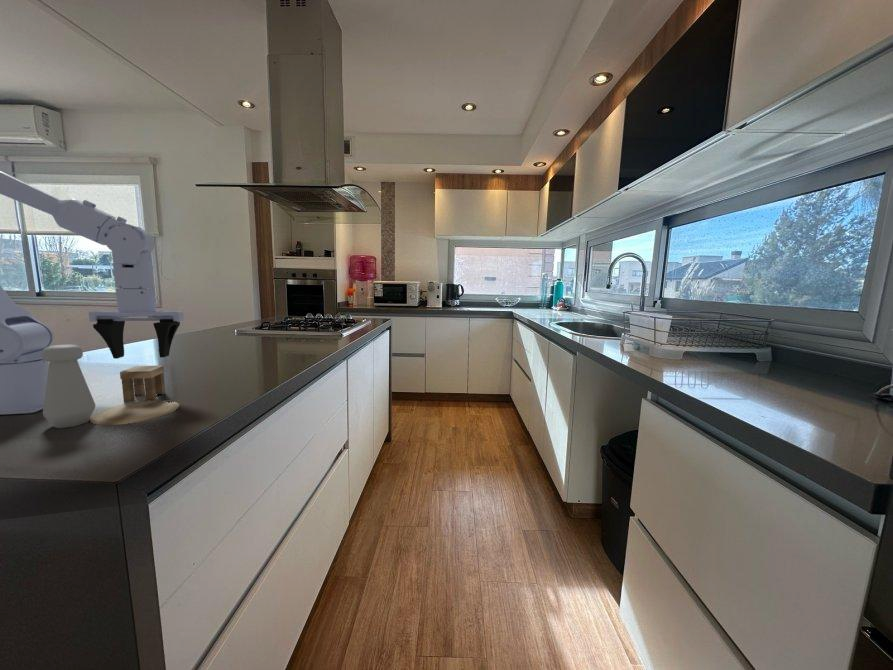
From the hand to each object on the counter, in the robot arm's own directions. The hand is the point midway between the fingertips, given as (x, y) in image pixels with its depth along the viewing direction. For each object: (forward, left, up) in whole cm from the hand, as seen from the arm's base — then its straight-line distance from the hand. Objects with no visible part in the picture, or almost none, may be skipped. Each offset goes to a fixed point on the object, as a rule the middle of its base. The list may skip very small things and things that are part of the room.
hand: (142, 357), depth 69 cm
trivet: (+3, -9, -9) cm, 13 cm away
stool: (0, 0, -8) cm, 8 cm away
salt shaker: (-4, -13, -9) cm, 16 cm away
